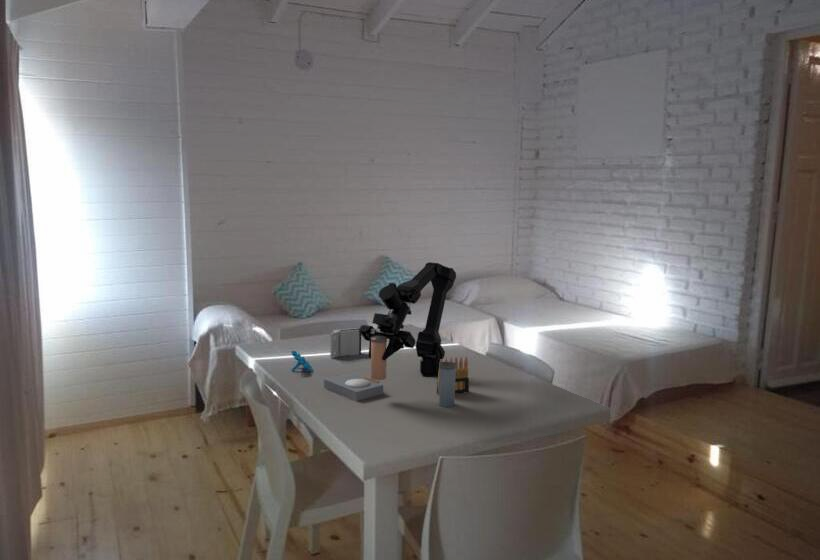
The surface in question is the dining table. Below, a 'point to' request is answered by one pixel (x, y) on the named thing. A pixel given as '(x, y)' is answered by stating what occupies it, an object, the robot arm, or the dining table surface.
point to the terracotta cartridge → (378, 357)
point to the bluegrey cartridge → (447, 384)
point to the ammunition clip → (458, 376)
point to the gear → (300, 361)
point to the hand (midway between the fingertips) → (376, 358)
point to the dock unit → (354, 386)
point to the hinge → (345, 342)
